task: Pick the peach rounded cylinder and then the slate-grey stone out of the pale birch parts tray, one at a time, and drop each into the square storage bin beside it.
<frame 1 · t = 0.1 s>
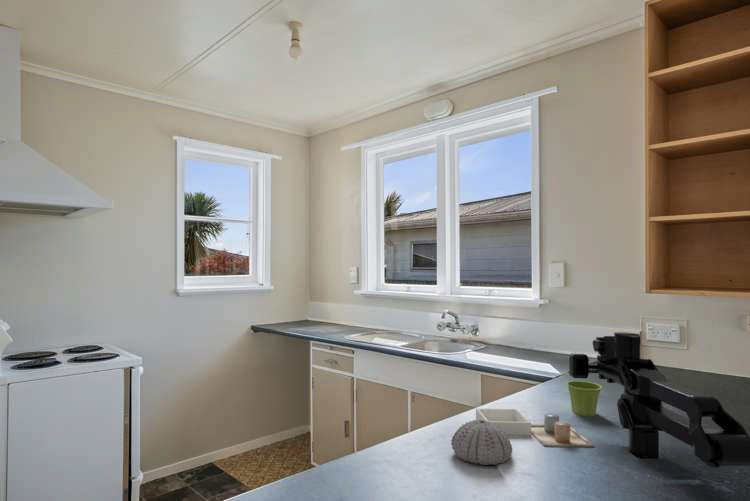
hand: (590, 360, 134), 17 cm above the table, tool horizontal, fingers open, 9 cm apart
parts tray: (556, 438, 117), on the table
peach rounded cylinder: (562, 440, 114), point 1 cm above the table, touching parts tray
sea urchin shell: (481, 458, 105), on the table
square storage bin: (502, 429, 123), on the table
slate pebble: (551, 431, 120), point 1 cm above the table, touching parts tray
plant pot: (583, 415, 137), on the table
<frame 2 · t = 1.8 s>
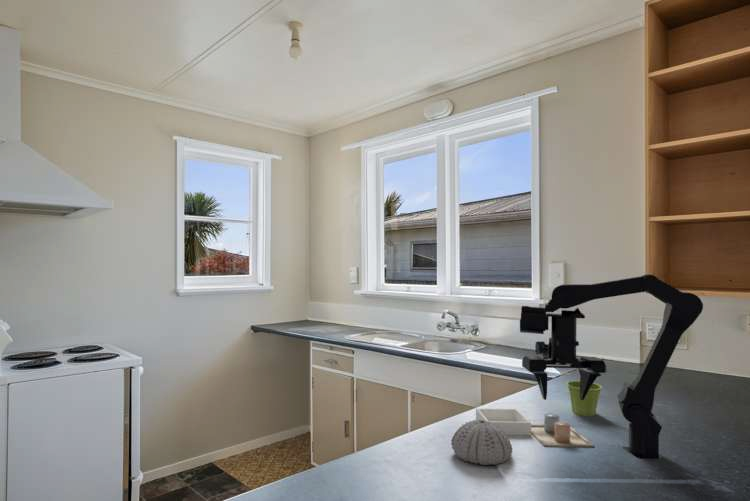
hand: (563, 399, 114), 10 cm above the table, tool pointing down, fingers open, 9 cm apart
nothing on the table moved.
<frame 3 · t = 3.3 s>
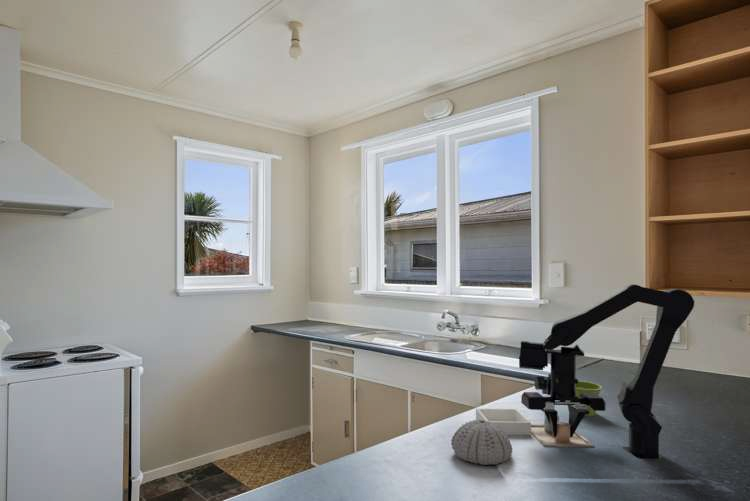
hand: (562, 436, 114), 2 cm above the table, tool pointing down, fingers closed on peach rounded cylinder, 4 cm apart
peach rounded cylinder: (562, 440, 114), point 1 cm above the table, touching gripper, parts tray
everything else where it was.
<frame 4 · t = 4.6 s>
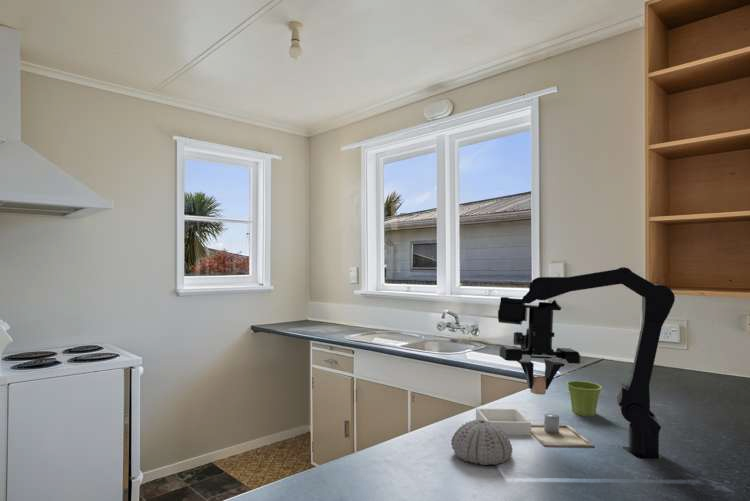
hand: (537, 388, 118), 12 cm above the table, tool pointing down, fingers closed on peach rounded cylinder, 4 cm apart
peach rounded cylinder: (538, 392, 118), point 11 cm above the table, touching gripper
everything else where it was.
when the fingers open (5 cm above the table, at t = 6.3 s): peach rounded cylinder drops 3 cm, resting on square storage bin.
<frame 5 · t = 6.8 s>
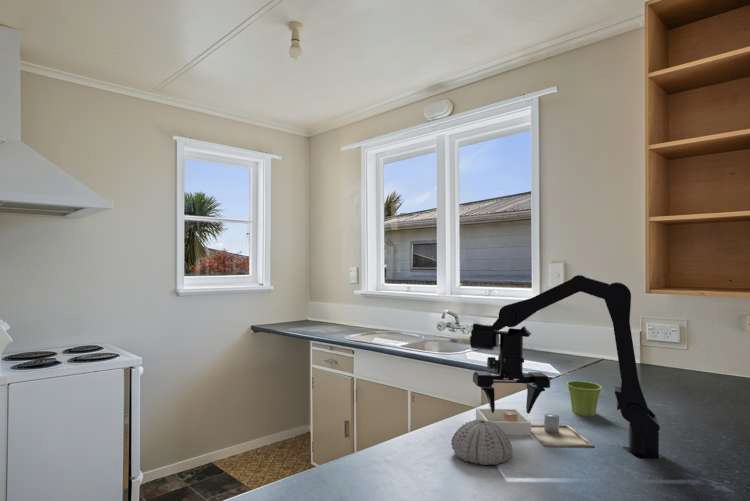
hand: (510, 412, 121), 5 cm above the table, tool pointing down, fingers open, 9 cm apart
peach rounded cylinder: (510, 429, 121), point 1 cm above the table, touching square storage bin
everything else where it was.
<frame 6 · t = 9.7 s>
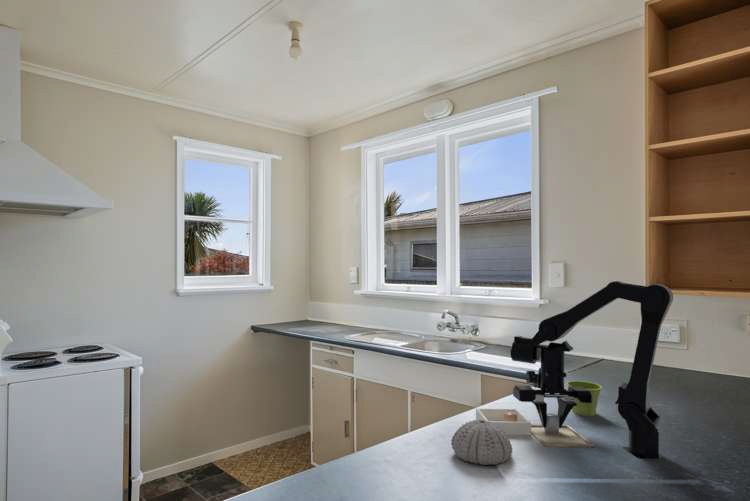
hand: (551, 427, 121), 2 cm above the table, tool pointing down, fingers closed on slate pebble, 4 cm apart
slate pebble: (551, 431, 120), point 1 cm above the table, touching gripper, parts tray
everything else where it was.
when the fingers open (5 cm above the table, at t = 12.9 s): slate pebble drops 3 cm, resting on square storage bin.
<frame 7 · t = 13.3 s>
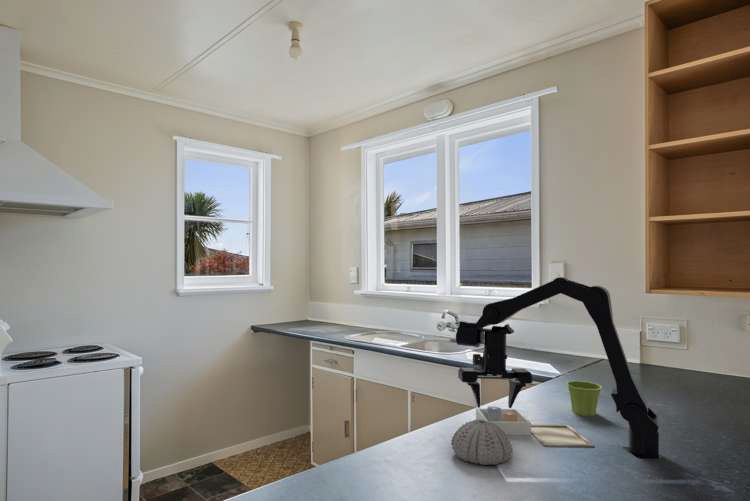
hand: (494, 407, 126), 5 cm above the table, tool pointing down, fingers open, 8 cm apart
slate pebble: (493, 423, 125), point 1 cm above the table, touching square storage bin
everything else where it was.
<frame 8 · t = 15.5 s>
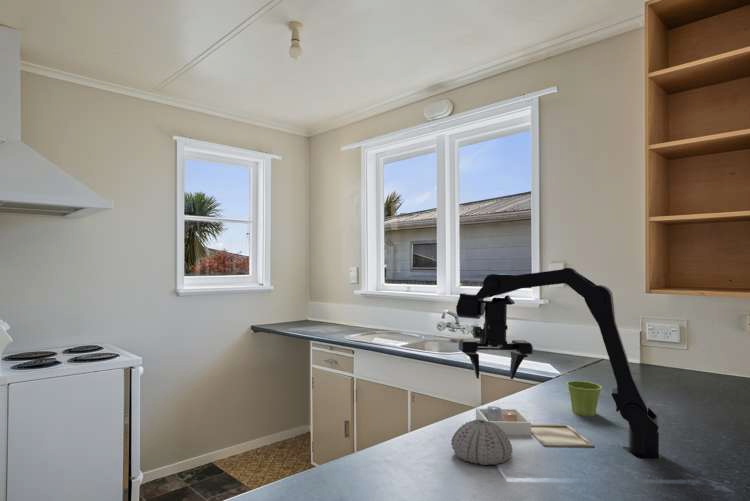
hand: (494, 378, 126), 12 cm above the table, tool pointing down, fingers open, 9 cm apart
nothing on the table moved.
at the end: peach rounded cylinder inside the target area on the square storage bin (2.3 cm from its centre), point 0.6 cm above the square storage bin's base; slate pebble inside the target area on the square storage bin (2.9 cm from its centre), point 0.6 cm above the square storage bin's base; the gripper is holding nothing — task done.
